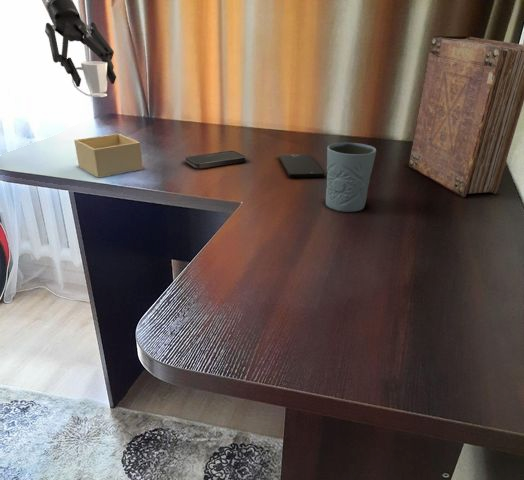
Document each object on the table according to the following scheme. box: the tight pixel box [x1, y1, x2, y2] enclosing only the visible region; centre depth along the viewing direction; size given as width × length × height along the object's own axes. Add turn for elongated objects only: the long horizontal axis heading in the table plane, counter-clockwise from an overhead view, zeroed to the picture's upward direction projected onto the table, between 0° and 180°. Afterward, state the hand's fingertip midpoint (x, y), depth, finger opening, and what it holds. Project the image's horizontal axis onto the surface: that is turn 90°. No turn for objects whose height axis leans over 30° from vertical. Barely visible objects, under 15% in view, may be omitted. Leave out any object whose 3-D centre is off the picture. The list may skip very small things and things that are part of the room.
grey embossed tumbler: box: [325, 142, 377, 213], centre depth 108 cm, size 10×10×12 cm
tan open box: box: [73, 133, 144, 178], centre depth 127 cm, size 12×11×6 cm
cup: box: [71, 60, 108, 98], centre depth 138 cm, size 7×10×8 cm
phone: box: [185, 150, 247, 169], centre depth 135 cm, size 8×1×15 cm
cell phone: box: [278, 153, 325, 179], centre depth 133 cm, size 9×18×1 cm, turn 7°
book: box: [408, 35, 524, 198], centre depth 119 cm, size 25×9×30 cm, turn 16°
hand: (96, 81), depth 136 cm, fingers closed on cup, 9 cm apart
